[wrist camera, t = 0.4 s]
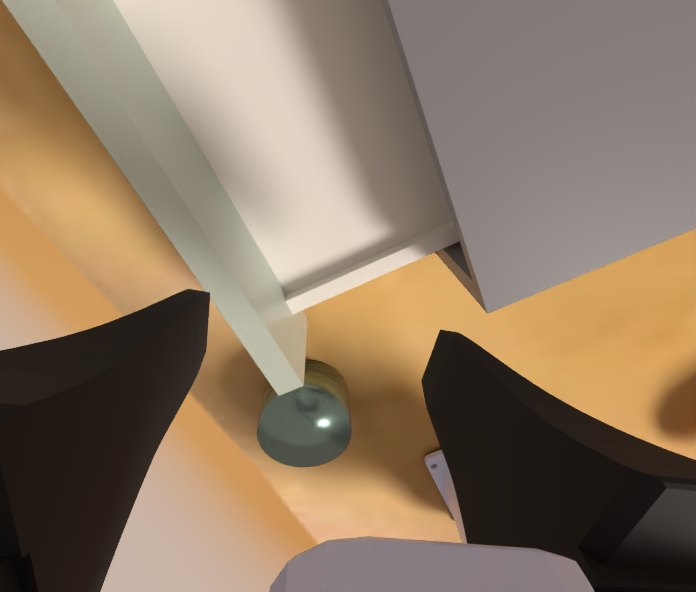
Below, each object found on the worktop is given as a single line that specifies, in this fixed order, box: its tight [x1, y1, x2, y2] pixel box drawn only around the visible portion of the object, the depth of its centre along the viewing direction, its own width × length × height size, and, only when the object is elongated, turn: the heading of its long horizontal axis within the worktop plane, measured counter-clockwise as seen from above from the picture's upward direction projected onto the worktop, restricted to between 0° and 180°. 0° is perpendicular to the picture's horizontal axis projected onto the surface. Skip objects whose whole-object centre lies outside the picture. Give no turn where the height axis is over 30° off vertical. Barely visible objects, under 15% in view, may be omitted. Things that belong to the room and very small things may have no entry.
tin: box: [257, 360, 351, 467], centre depth 23 cm, size 5×5×4 cm
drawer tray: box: [2, 0, 460, 396], centre depth 14 cm, size 18×17×6 cm
